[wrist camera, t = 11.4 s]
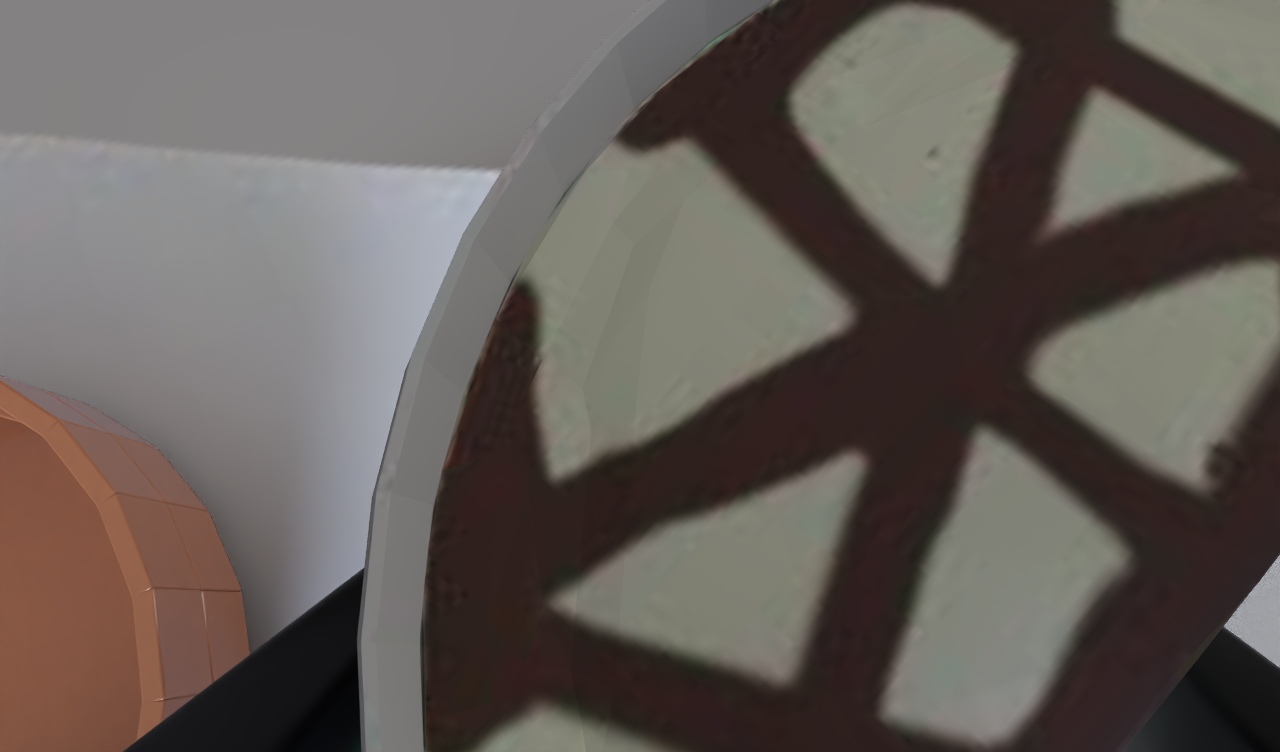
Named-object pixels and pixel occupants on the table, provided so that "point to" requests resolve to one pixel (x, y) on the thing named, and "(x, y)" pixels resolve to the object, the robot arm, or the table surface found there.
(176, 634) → the basin
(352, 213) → the table surface
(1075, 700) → the food container
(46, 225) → the table surface
